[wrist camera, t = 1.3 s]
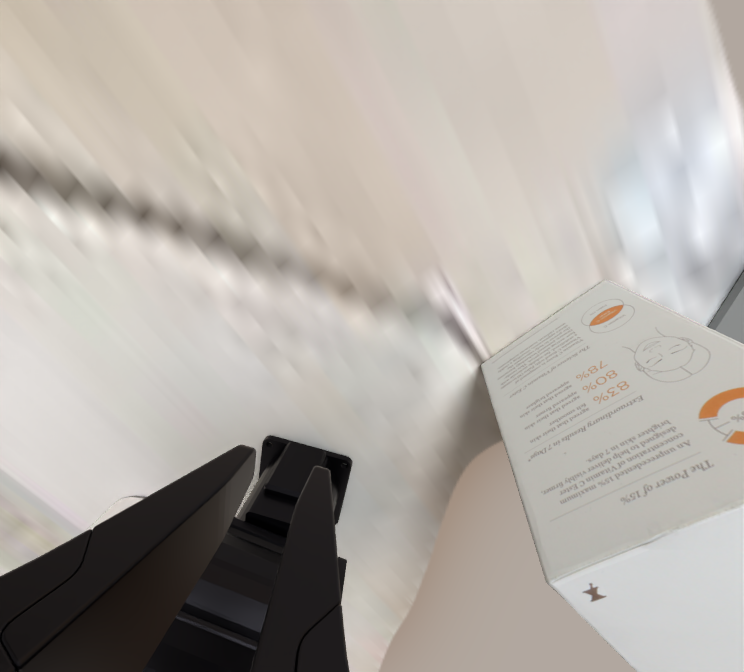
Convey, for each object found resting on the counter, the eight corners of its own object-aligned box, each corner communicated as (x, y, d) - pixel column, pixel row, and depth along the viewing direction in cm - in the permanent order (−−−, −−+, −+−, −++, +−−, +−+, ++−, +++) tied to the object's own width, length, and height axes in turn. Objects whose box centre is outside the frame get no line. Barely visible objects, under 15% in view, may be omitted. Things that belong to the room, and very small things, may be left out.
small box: (540, 434, 22) (668, 714, 10) (477, 363, 21) (539, 585, 9) (672, 361, 19) (1063, 631, 7) (607, 274, 18) (944, 429, 6)
